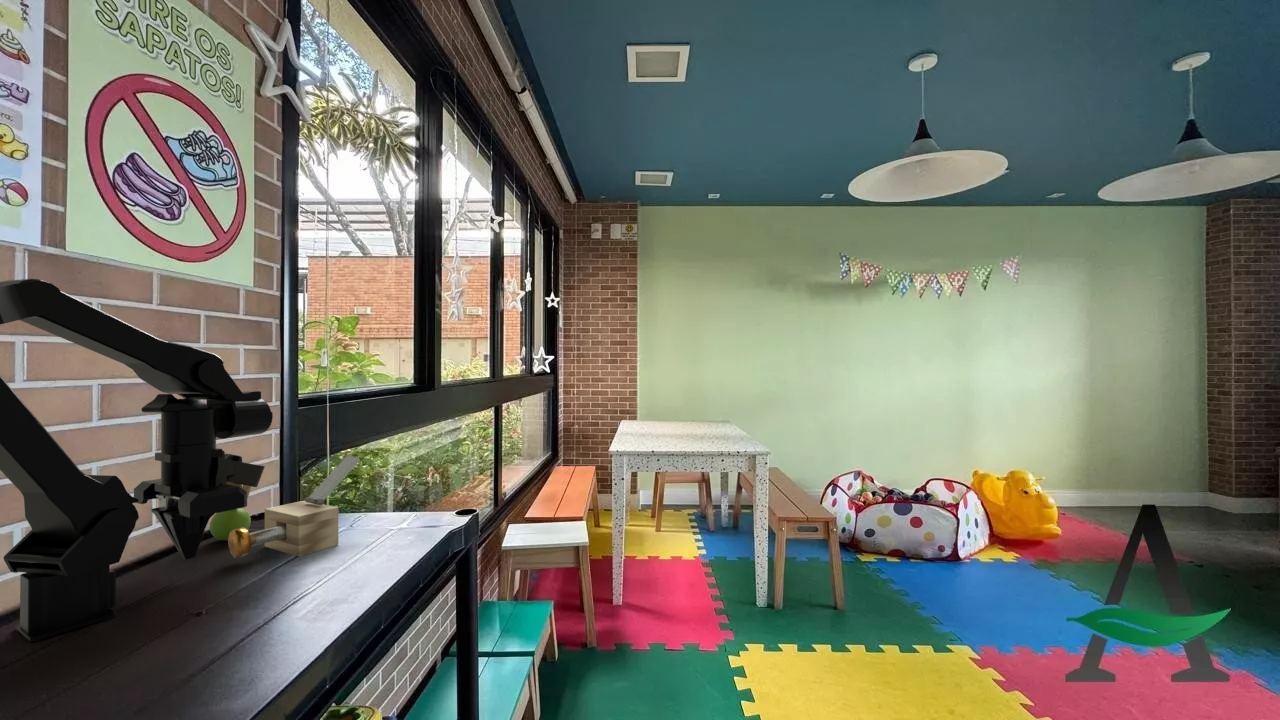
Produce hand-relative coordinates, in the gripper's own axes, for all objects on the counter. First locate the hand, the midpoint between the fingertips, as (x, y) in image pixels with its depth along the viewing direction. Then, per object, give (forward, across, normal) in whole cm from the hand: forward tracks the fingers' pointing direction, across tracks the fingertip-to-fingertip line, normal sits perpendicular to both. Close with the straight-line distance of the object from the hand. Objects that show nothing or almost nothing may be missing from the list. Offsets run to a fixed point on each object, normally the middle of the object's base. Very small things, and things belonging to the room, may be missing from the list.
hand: (189, 558), depth 71 cm
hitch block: (+3, 0, -14) cm, 15 cm away
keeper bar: (-7, 0, -20) cm, 21 cm away
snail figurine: (+3, +14, -11) cm, 18 cm away
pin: (+2, 0, -12) cm, 12 cm away
